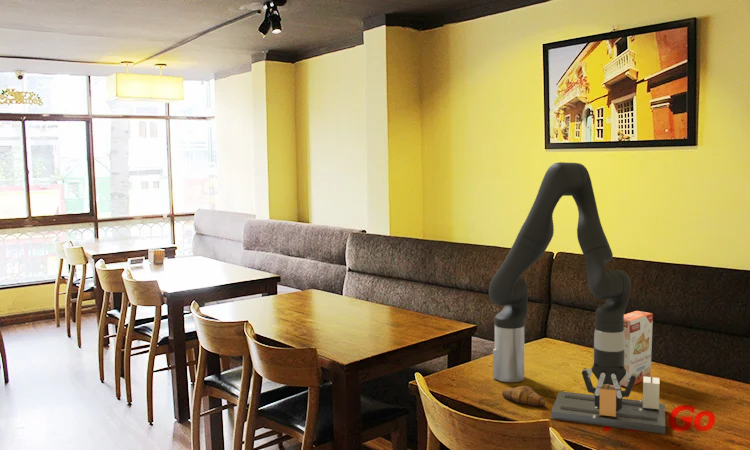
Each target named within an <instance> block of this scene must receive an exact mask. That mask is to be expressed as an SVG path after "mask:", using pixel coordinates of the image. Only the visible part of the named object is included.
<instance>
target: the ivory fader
mask: <svg viewBox="0 0 750 450" xmlns="http://www.w3.org/2000/svg"><path fill="white" fill-rule="evenodd" d="M642 401H643V408H651V409H659V403H660V377H653V376H650V377H645V376H644V377H643V381H642Z"/></svg>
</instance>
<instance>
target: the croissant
mask: <svg viewBox="0 0 750 450" xmlns="http://www.w3.org/2000/svg"><path fill="white" fill-rule="evenodd" d="M501 395H502V397H503V398H504V399H506V400H509V401H512V402H515V403H518V404H521V405H528V406H531V407H538V408H540V407H545V406H546V402H545V400H544V398H543V397H542V396H541V395H539V393H538V392H536V391H535V390H534V389H533V388H531V387H530V386H527V385H521V386H517V387H511V388H506V389H503V391H502V393H501Z"/></svg>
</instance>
